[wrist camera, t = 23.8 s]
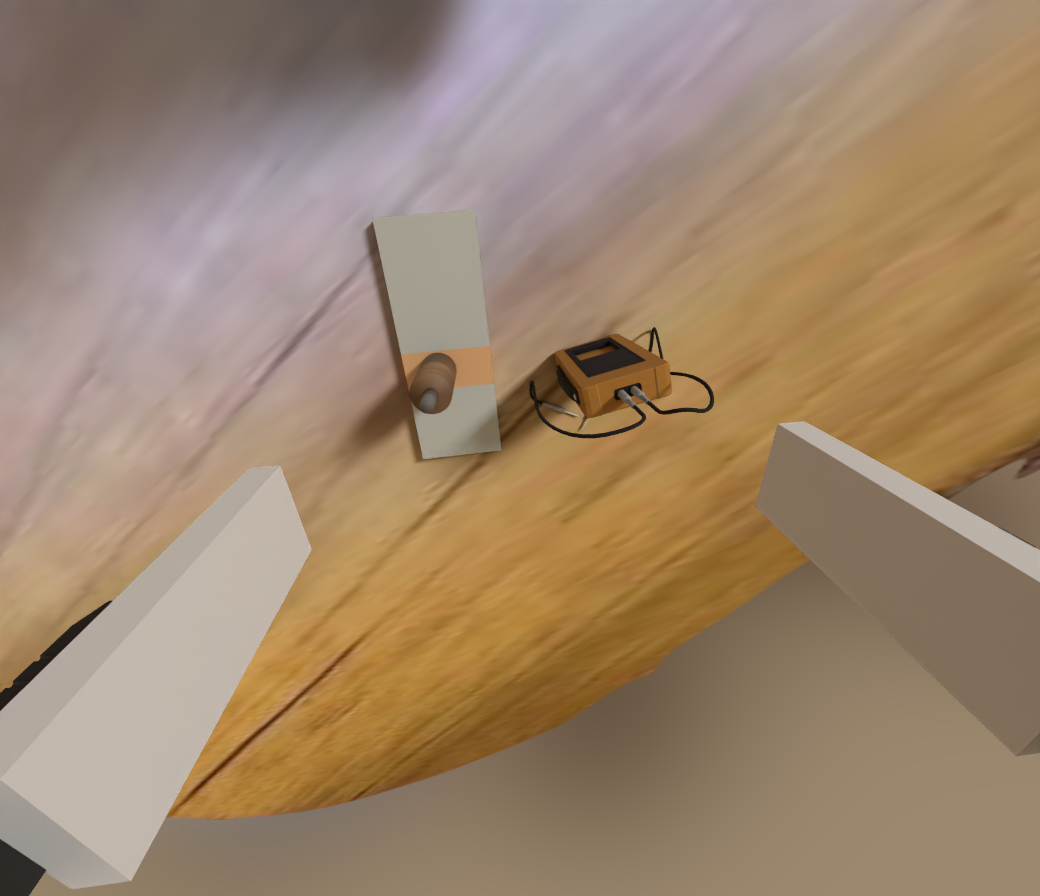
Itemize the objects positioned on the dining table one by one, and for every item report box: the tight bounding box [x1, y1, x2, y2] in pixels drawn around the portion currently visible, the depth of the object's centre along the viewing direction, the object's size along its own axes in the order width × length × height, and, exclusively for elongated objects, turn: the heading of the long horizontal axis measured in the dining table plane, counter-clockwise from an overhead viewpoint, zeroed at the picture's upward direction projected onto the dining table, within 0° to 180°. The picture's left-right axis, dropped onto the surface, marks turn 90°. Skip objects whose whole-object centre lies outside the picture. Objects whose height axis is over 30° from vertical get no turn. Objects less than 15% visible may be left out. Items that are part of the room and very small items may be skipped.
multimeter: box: [530, 327, 714, 438], centre depth 36 cm, size 15×10×20 cm
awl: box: [409, 353, 457, 414], centre depth 36 cm, size 4×4×11 cm
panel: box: [372, 210, 501, 459], centre depth 41 cm, size 24×9×1 cm, turn 5°
